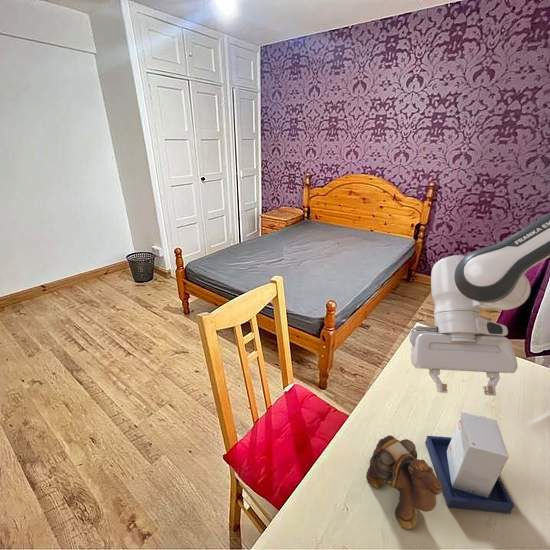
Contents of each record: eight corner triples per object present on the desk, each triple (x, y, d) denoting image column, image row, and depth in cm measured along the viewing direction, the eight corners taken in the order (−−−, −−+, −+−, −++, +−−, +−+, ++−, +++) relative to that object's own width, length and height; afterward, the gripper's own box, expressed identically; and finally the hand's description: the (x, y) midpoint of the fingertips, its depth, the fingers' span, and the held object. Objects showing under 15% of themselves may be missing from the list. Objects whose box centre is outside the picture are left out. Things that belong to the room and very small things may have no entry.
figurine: (407, 549, 53) (424, 501, 46) (351, 469, 65) (358, 422, 59) (444, 521, 57) (465, 472, 50) (385, 450, 69) (395, 404, 62)
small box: (488, 499, 59) (509, 457, 53) (451, 488, 61) (468, 446, 55) (478, 460, 66) (497, 419, 60) (445, 451, 68) (460, 410, 62)
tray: (476, 447, 69) (479, 439, 68) (510, 513, 57) (514, 506, 56) (424, 442, 70) (427, 435, 69) (447, 507, 59) (450, 500, 57)
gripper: (413, 323, 66) (419, 391, 62) (515, 327, 64) (528, 398, 60) (404, 327, 72) (409, 390, 68) (497, 331, 70) (508, 396, 65)
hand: (466, 394), depth 64 cm, fingers open, 8 cm apart
